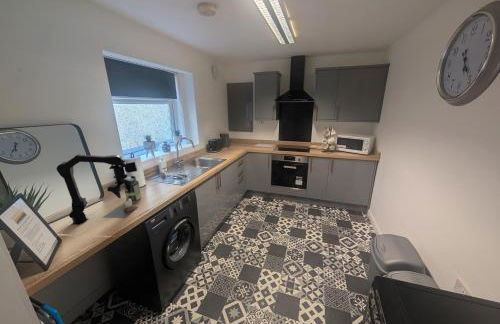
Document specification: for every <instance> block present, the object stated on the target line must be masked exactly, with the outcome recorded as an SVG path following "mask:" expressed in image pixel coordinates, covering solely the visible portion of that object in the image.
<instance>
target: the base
mask: <svg viewBox="0 0 500 324" xmlns="http://www.w3.org/2000/svg"><path fill="white" fill-rule="evenodd" d="M132 204H133V203H132ZM122 207H123V209H124V212H131V211H133V212H135V211H136V210H137V209H136V208H135V207H136V205H135V204H133V206H132V207H131V208H125V206H122ZM135 209H136V210H135ZM134 210H135V211H134Z"/></svg>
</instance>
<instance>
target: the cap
mask: <svg viewBox="0 0 500 324" xmlns="http://www.w3.org/2000/svg"><path fill="white" fill-rule="evenodd" d="M123 205H124V207H125V208H131V207H132V206H133V202H132V200H131V199H127V198H126V199H124V200H123Z"/></svg>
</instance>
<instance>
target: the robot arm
mask: <svg viewBox="0 0 500 324" xmlns="http://www.w3.org/2000/svg"><path fill="white" fill-rule="evenodd" d="M80 162H81V163H98V164H99V163H100V164H101V163H102V164H107V165H110V166H109V168H108V170H113V174H114V176H113V179H115V182H114V184H112V185H109V186H107V188H106V190H107V192H110V193H113V194H114V196H115V197H116V198H118V199H121V190H122V189H121V187H122V186H123V184H125V186H126V188H127V190H128V192H130V191H131V186H132V184H134V181H137V178H136V176H135V175H131V176H128V174H129V173H133V172H138V167H137V164H136V161H130V162H126V160H124V159H123V157H122V156H121V155H118V154H113V155H91V154H90V155H89V154H81V153H79V154H76V155H74V156H73V157H72V158H71V159H69V160H67V161H63V162H61V163H60V164H59V165H57V167H56V171H57V173H58V174H59V176H60V177H61V178H62V179H63V180H64V182H65V185H66V188H67V191H68V194H69V196H70V199H71V211H70V212H69V214H68V217H69V218H70V219H72V223H71V224H70V225H74V226H75V225H77V226H80V225H82V224H84V223H86V222H87V221H88V220H89V218H87V216H86V213H85V209H86V207H87V204H88V201H87V198H86V197H82V196H81V193H80V190H79V188H78V184H77V183H76V179H75V177H74V176H75V175H74V171H75V170H74V167H75V166H76V165H77V164H79V163H80ZM125 172H126V173H125ZM127 173H128V174H127Z"/></svg>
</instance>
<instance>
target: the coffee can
mask: <svg viewBox="0 0 500 324" xmlns="http://www.w3.org/2000/svg"><path fill="white" fill-rule="evenodd" d="M122 186H123V189H124V193H125V194H124V195H125V198H126V199H131V200H132V203H133V202H137V201H140V200H141V199H142V192H141V188H140V183H139V181H138V180H135V181H134V184H132V186H131V191H130V192H128V190H127V188H126V186H125V184H123V185H122Z"/></svg>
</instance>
